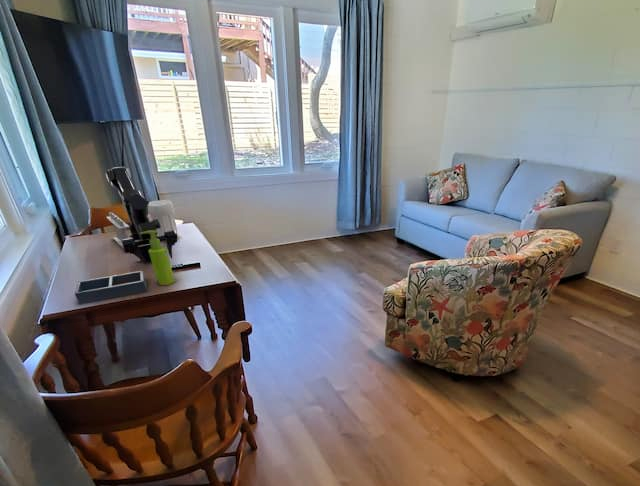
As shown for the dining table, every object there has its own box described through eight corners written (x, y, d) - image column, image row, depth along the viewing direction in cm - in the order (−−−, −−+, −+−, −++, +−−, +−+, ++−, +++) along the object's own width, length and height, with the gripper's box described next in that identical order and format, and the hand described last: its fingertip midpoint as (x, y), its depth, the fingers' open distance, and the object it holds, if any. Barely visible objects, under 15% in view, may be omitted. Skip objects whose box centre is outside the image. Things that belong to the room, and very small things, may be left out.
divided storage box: (82, 291, 146) (77, 281, 144) (145, 280, 154) (142, 270, 152) (79, 304, 138) (74, 293, 135) (146, 291, 146) (143, 281, 143)
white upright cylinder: (175, 242, 191) (165, 205, 182) (152, 242, 192) (141, 206, 182) (184, 235, 201) (175, 199, 192) (162, 235, 201) (152, 200, 192)
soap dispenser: (158, 279, 155) (143, 228, 144) (176, 278, 155) (162, 228, 145) (153, 285, 150) (136, 233, 139) (172, 284, 150) (157, 233, 140)
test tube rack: (137, 250, 183) (127, 221, 176) (126, 252, 181) (117, 223, 174) (123, 237, 199) (114, 210, 192) (113, 239, 197) (104, 212, 190)
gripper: (113, 217, 138) (129, 256, 136) (169, 208, 147) (185, 244, 146) (117, 234, 148) (132, 270, 146) (169, 224, 157) (184, 259, 155)
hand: (159, 260), depth 148 cm, fingers open, 9 cm apart
